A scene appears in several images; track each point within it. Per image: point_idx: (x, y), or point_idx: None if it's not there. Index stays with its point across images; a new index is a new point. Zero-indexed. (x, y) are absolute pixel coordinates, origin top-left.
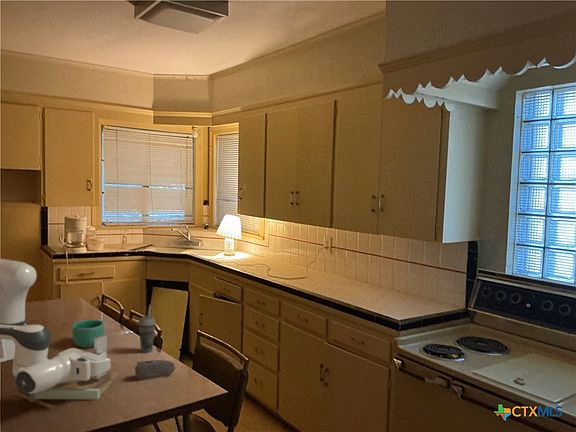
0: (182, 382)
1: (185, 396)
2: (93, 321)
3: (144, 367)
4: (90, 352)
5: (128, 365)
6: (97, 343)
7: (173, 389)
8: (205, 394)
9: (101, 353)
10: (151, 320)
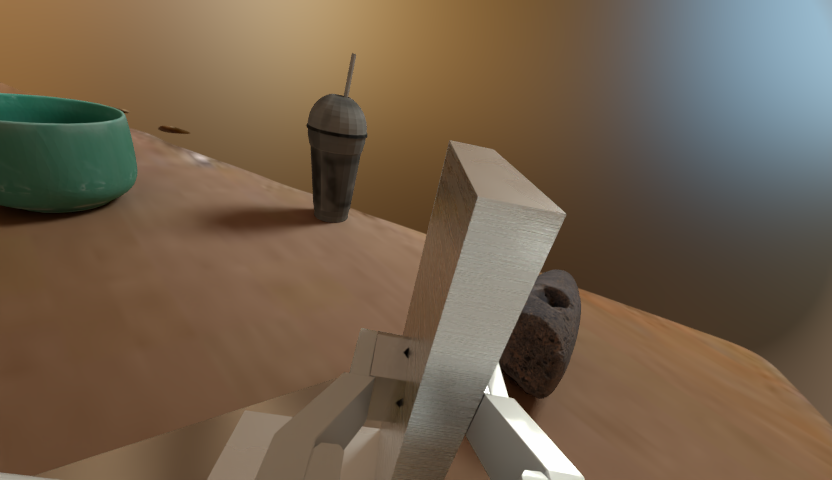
0: (626, 341)
1: (789, 436)
2: (62, 104)
3: (574, 336)
4: (325, 444)
5: (346, 288)
6: (514, 295)
7: (685, 400)
8: (778, 390)
9: (486, 394)
10: (362, 115)
